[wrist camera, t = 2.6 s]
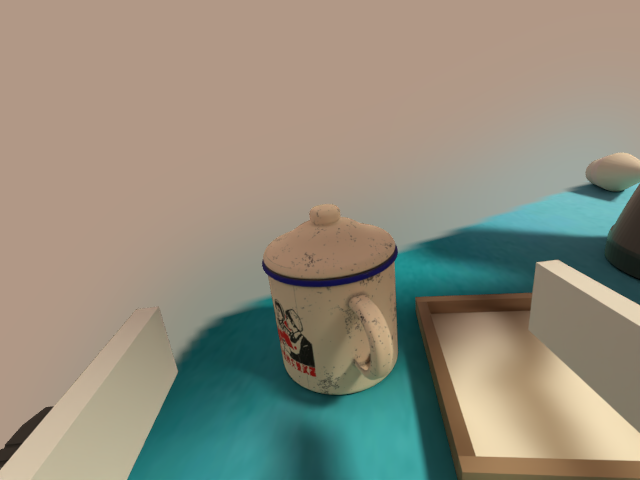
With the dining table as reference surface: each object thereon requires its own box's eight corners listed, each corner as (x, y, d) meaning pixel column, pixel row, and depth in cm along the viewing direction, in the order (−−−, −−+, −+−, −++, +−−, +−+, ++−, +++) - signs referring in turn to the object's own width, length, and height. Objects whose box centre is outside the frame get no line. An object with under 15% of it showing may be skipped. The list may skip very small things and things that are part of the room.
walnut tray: (572, 307, 29) (574, 291, 28) (780, 508, 14) (792, 483, 14) (415, 311, 31) (415, 297, 30) (461, 494, 16) (462, 472, 16)
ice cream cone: (651, 204, 49) (590, 196, 63) (694, 173, 47) (622, 172, 62) (622, 172, 49) (567, 171, 63) (664, 140, 47) (598, 146, 61)
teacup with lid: (270, 339, 30) (244, 205, 25) (367, 310, 32) (357, 184, 28) (315, 461, 19) (282, 264, 15) (456, 404, 21) (461, 221, 17)
